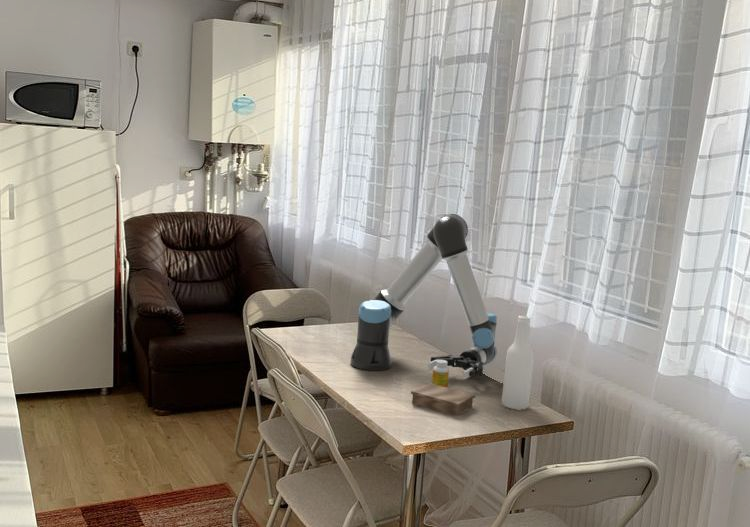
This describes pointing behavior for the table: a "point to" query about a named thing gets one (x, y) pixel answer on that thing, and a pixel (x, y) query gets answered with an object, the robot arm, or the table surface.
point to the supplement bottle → (440, 373)
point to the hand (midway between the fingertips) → (446, 371)
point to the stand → (442, 399)
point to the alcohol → (518, 368)
